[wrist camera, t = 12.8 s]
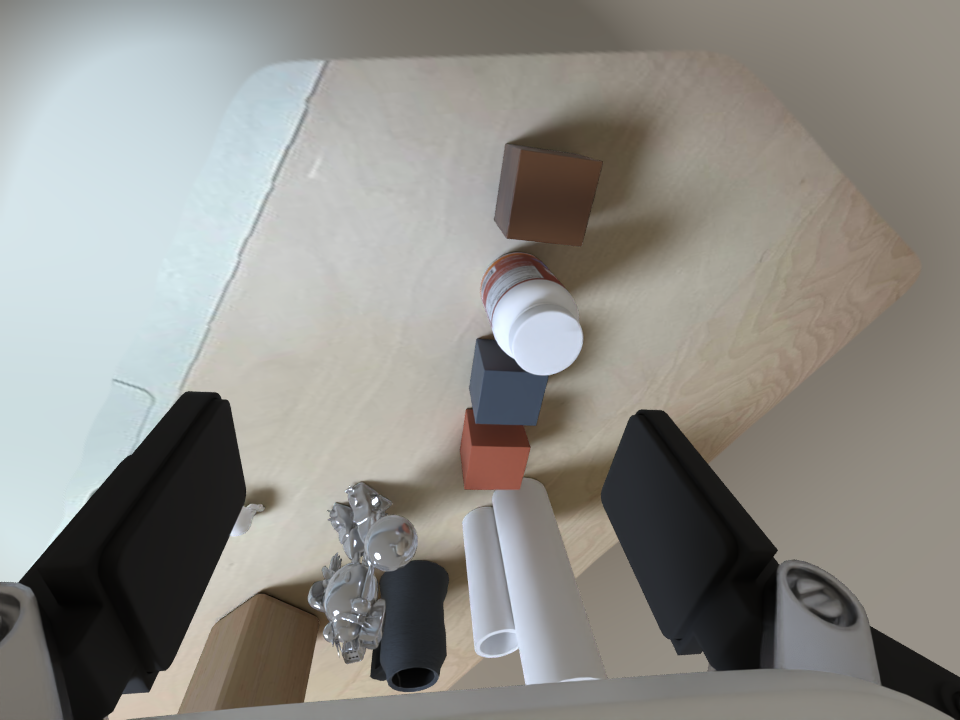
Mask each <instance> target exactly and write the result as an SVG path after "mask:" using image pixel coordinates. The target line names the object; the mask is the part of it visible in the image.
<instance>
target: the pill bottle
mask: <svg viewBox="0 0 960 720" xmlns="http://www.w3.org/2000/svg"><path fill="white" fill-rule="evenodd" d="M480 294H481V299H482V302H483V305H484V308H485V311H486V314H487V317H488V319H489V322H490V325H491V328H492V331H493V334H494V337H495V339H496V341H497V343H498V345H499V346H500V348H501V349H502V350H503V351H504V352H505V353H506V354H507V355H509V356H510V357H512V358H514V359H515V360H516V362H517V363H518V365H519V366H520V367H521V368H522V369H524V370H525V371H527V372H529V373H532V374H535V375H551V374H555V373H558V372H560V371H562V370H564V369H565V368H567V367H568V366H570V365H571V364H572V363H573V362H574V361H575V359H576V358H577V357H578V355H579V353H580V351H581V349H582V345H583V331H582V328H581V326H580V324H579V311H578V307H577V304H576V302H575V300H574V299H573V297H572V296H571V294H570V293H569V292H568V290H567V289H566V288H565V287H564V286H563V285H562V284H561V283H560V281H559V280H558V279H557V278H556V277H555V276H554V275H553V273H552V272H551V271H550V270H549V269H548V268H547V267H546V265H545V264H544V263H543V262H542V261H541V260H539V259H538V258H537V257H535V256H533V255H531V254H528V253H523V252H514V253H509V254H506V255H503V256H501V257H499V258H498V259H496V260H495V261H494V262H492V263H491V264H490V266H489V267H488V268H487V269H486V271H485V273H484V275H483V277H482V280H481V285H480Z"/></svg>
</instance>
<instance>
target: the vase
mask: <svg viewBox="0 0 960 720" xmlns="http://www.w3.org/2000/svg"><path fill="white" fill-rule="evenodd" d="M492 502H493V507H480V508H477V509H474V510H472V511H471V512H469V513H468V514H467V515H466V516H465V517H464V519H463V522H462V524H463V535H464V545H465V555H466V565H467V576H468V586H469V596H470V606H471V616H472V626H473V636H474V646H475V652H476V653H477V654H478V655H480V656H482V657H487V658H492V657H493V658H494V657H500V656H504V655H507V654H510V653H512V652H513V651H515V650H517V649H518V648H519V651H520V656H521V662H522V667H523V673H524V679H525V684H526V685H530V684H543V683H556V682H569V681H583V680H597V679H608V677H607V674H606V671H605V668H604V665H603V662H602V659H601V656H600V653H599V649H598V646H597V643H596V640H595V638H594V634H593V631H592V628H591V625H590V622H589V619H588V616H587V613H586V610H585V607H584V604H583V601H582V598H581V595H580V592H579V589H578V586H577V583H576V580H575V577H574V574H573V571H572V567H571V564H570V561H569V558H568V555H567V552H566V549H565V546H564V543H563V540H562V537H561V534H560V531H559V528H558V525H557V522H556V519H555V516H554V513H553V510H552V507H551V504H550V501H549V498H548V495H547V492H546V489H545V487H544V485H543V484H541V483H540V482H539V481H537V480H534V479H532V478H524V477H523V479H522V483H521V487H520V490H495V492H494V494H493V497H492Z"/></svg>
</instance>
